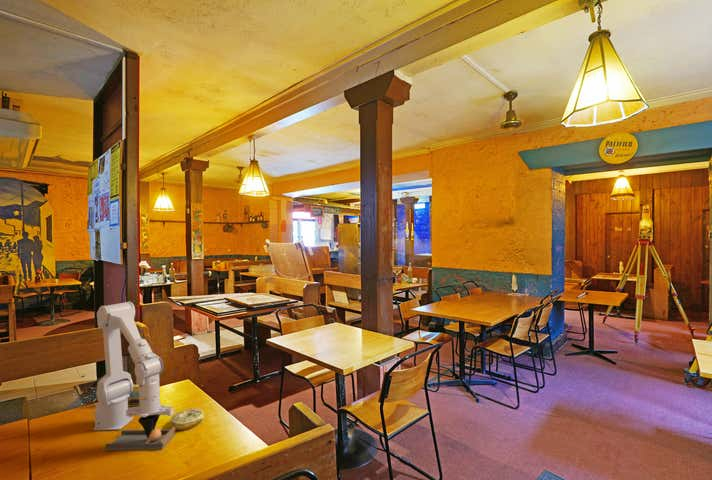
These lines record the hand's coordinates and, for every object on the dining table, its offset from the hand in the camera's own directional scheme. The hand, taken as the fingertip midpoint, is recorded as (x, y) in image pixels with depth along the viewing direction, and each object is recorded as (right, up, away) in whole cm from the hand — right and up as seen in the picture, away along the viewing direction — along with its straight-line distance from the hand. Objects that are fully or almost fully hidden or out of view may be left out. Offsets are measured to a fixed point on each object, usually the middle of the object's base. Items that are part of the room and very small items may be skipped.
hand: (150, 436), depth 113 cm
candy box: (-25, -2, +25) cm, 36 cm away
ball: (+1, 0, 0) cm, 1 cm away
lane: (-3, -2, 0) cm, 4 cm away
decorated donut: (+7, -2, +11) cm, 13 cm away
